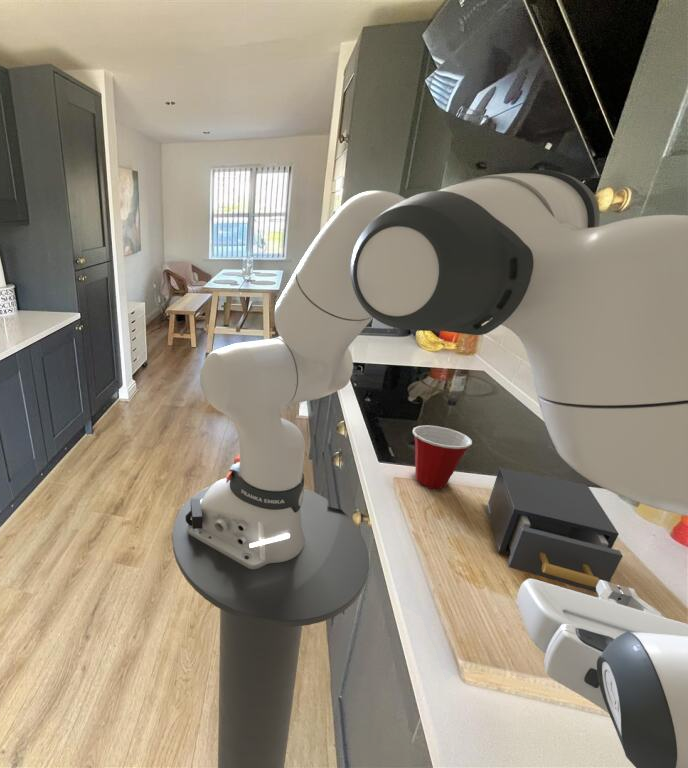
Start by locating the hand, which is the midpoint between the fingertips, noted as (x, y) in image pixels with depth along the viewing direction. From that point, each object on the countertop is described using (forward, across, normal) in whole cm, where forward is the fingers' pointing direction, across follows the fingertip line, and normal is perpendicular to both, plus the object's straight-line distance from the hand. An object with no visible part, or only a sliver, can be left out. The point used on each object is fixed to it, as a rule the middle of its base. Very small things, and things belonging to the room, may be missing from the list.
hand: (613, 587), depth 49 cm
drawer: (+17, 0, +11) cm, 20 cm away
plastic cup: (+35, +16, +12) cm, 41 cm away
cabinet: (+23, 0, +12) cm, 26 cm away
